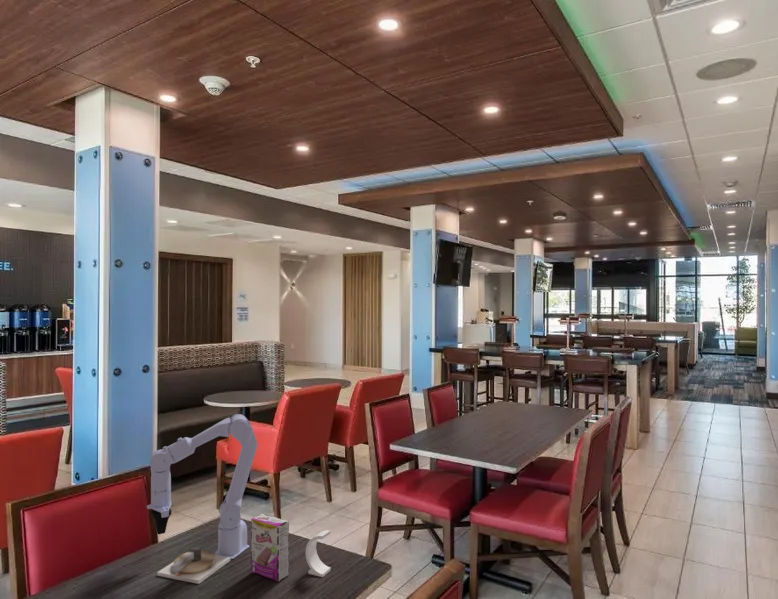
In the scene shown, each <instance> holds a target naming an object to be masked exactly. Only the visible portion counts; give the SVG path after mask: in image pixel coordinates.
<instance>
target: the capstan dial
mask: <svg viewBox="0 0 778 599" xmlns="http://www.w3.org/2000/svg"><path fill="white" fill-rule="evenodd" d="M173 562H174V565H172V566H171V574H176V573H177V572H179V573H184V574H191V573H197V572H201V571H204V570H207V569H209V568H210V567H212V566H213V565H214V564H215V554H214V552H213V551H211V550H208V549H202V548H201V547H198V546H196V547H191V548H189V549H188V551H187V552H185V553H184V552H183V553H182V554H180V555H178V556H177V557H176V558H174V560H173Z"/></svg>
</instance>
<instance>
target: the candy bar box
mask: <svg viewBox="0 0 778 599" xmlns="http://www.w3.org/2000/svg"><path fill="white" fill-rule="evenodd" d="M289 522H290V521H289V520H286V519H282V518H279V517H275V516H271V515H268V514H265V513H260V514H259V515H256V516H254V517H252V518H251V519H250V533H251V534H250V536H251V537H250V542H251V544H250V545H251V548H250V549H251V550H250V552H251V553H250V554H251V555H250V556H251V558H250V559H251V561H250V565H251V566H250V567H251V568H250V569H251V571H250V572H251V573H252V574H255V575H259V576H261V577H265V578H267V579H270V580H273V581H276V582H280V581H282V580H283V579H285V578H286V577H288V576H289V575H290V567H289V566H290V564H289V563H290V560H289V559H290V551H289V550H290V548H289V547H290V546H289V545H290V539H289V538H290V536H289V534H290V530H289V528H290V527H289V526H290V525H289V524H290V523H289Z"/></svg>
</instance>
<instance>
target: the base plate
mask: <svg viewBox="0 0 778 599" xmlns="http://www.w3.org/2000/svg"><path fill="white" fill-rule="evenodd" d="M230 561H231V559H230V557H226V556H220V555H215V564H214V565H213V566H212V567H210V568H209V569H207V570H204V571H201V572H197V573H191V574H184V573H179V572H177V573H176V574H171V566H172V565H174V561H172V562H171V563H169V564H168V565H166V566H164V567H163V568H162V569H160V570H158V571H157V575H156V576H157V577H163V578H167V579H172V580H178V581H183V582H188V583H193V584H198V585H199V584H201V583H202V582H204V581H205V580H206V579H207V578H209V577H210V576H211V575H213V574H214V573H216V572H217V571H219V570H220V569H221V568H222V567H224V566H226V565H227V564H228V563H229V562H230Z"/></svg>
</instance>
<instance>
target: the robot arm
mask: <svg viewBox="0 0 778 599" xmlns="http://www.w3.org/2000/svg"><path fill="white" fill-rule="evenodd" d="M230 435H231V436H232V437H233V438H234V439H236V440H237V442H239V444H240V446H241V448H240V452H239V454H238V459H237V462H236V466H235V468H234V471H233V476H232V479H231V482H230V485H229V488H228V491H227V494H226V495H225V498H224V499H223V500H224V501H223V502H222V503H221V504H220V505H219V508H218V513H219V523H218V525H217V530H218V531H217V540H218V542H217V547H218V548H217V550H216V551H214V552H213V553H214V554H215V555H220V556H226V557H230V560H233V559H235V558H237V557H238V556H239V555H240V554H242V553H243V552H244V551H246V550H248V548H250V545H249V544H248V526H247V524H246V522H245V521H244V520H243V519H242V518H241V509H242V502H243V497H244V492H245V489H246V486H247V482H248V480H249V479H248V478H249V476H250V472H251V469H252V466H253V462H254V459H255V456H256V452H257V449H258V446H259V445H258V441H257V437H256V434H255V431H254V428H253V427H252V424H251V422H250V420H249V419H248V418H247V417H246V416H245V415H244V414H240V413H236V414H233V415H232V416H230V417H227V418H224V419H222V420H221V421H219V422H217V423H215V424H213V425H212V426H211V427H208V428H206V429H204V430H203V431H202V432H200V433H198V434H196V435H195V436H193V437H187V436H184V437H183V438H182V437H179V438H177V441H176V442H173V443H172V444H170V445H168V446H166V445H165V446H163V447H162V449H158V450H155V451H154V452H153V454H152V455H151V459H150V461H149V462H150V463H149V464H150V469H151V470H150V472H151V476H150V504H148V505H146V508H147V510H150V514H151V516H152V517H153V521H154V524H155V530H156V533H157V535H162V534H166V530H167V526H168V521H169V518H170V517H171V516H172V509H171V507H172V477H171V476H172V474H171V465H172V464H177V463H178V462H180V461H182V460H183V459H185V458H187V457H190V456H191V455H192V454H194V453H195V451H196V448H197V447H200V446H201V445H204V444H206V443H208V442H210V441H212V440H214V439H216V438H219V437H223V438H224V437H225V438H229V437H230Z"/></svg>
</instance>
